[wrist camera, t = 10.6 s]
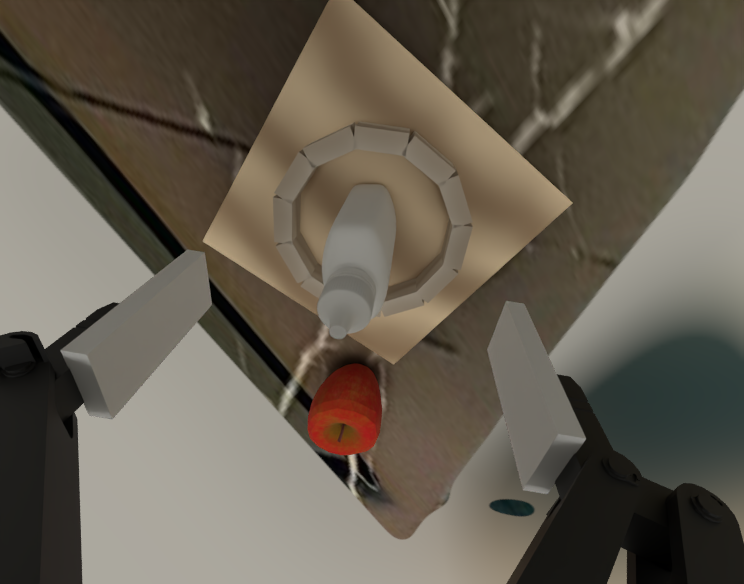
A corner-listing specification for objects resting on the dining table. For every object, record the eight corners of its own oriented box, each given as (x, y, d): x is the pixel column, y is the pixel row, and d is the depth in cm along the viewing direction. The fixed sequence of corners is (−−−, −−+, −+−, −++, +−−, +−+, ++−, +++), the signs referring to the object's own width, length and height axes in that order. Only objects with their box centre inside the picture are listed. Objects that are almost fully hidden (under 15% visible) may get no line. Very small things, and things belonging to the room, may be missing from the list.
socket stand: (343, -8, 20) (328, -24, 17) (561, 193, 24) (585, 213, 21) (215, 231, 28) (188, 252, 25) (394, 349, 33) (392, 381, 29)
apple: (343, 337, 33) (326, 401, 26) (399, 369, 34) (395, 438, 28) (311, 378, 36) (288, 444, 29) (363, 405, 37) (353, 474, 31)
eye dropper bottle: (326, 241, 26) (265, 354, 16) (361, 170, 23) (314, 252, 13) (380, 269, 26) (356, 394, 16) (420, 203, 24) (421, 306, 13)
